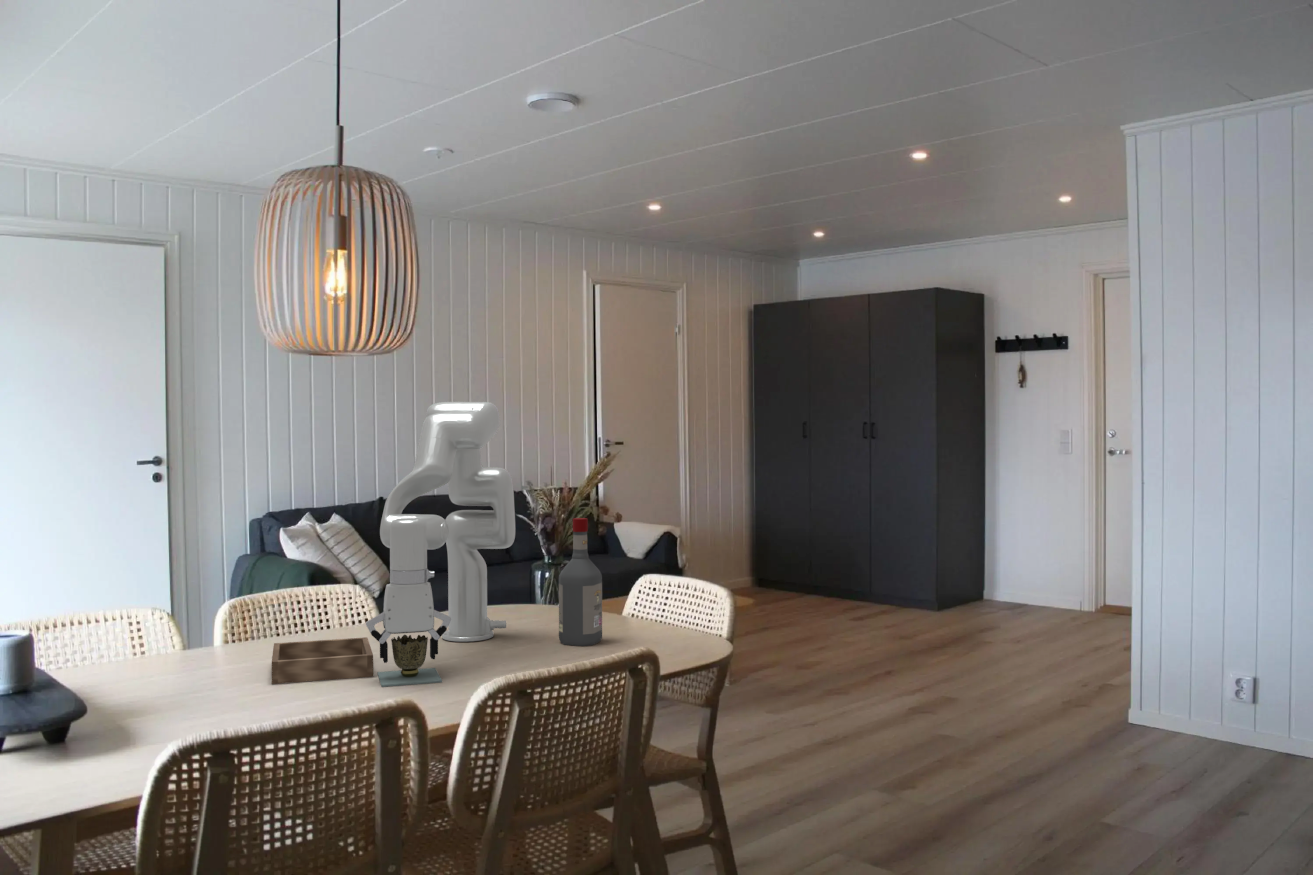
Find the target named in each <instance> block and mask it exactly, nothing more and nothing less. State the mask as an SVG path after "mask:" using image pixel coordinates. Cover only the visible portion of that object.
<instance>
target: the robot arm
mask: <svg viewBox="0 0 1313 875" xmlns="http://www.w3.org/2000/svg"><path fill="white" fill-rule="evenodd" d="M500 423H501V414H500V411H499V408H498V407H497V406H496V404H494V403H493V402H490V401H489V402H488V401H442V402H441V401H440V402H436V403H432V404H431V405H430V406H428V407H427V410H426V418H425V419H424V421H423V423H422V425H421V431H420V436H419V440H418V445H417V449H416V454H415V460H414V464H413V467H412V468H413V469H412V471H411V472H410V473H408V474H406V475H405V476H404V477H403V478H402V479H400V481H399V482H398V483H397V484H396V485H395V486H394V487H393V489H392V490H391V491H390V493H389V494H388V496H387V498H386V499H385V503H384V507H383V512H382V517H381V520H380V525H379V526H380V527H379V536H380V537H379V538H380V541H381V543H382V544H383V545H384V546H385V547H386V548H388V549H389V572H390V573H389V582H390V583H387V584H386V585H385V590H384V597H383V611H382V612H380V614H378V615H376V616H374V617H372V618H371V619H369V620H367V621H366V622H365V626H366V627H367V630H368V631H369V633H370V635H371V636H372V637H373V638H374V639H375V640H376V641H377V642H378V643H379V658H380V659H382V660H383V663H384V664H387V663H388V661H389V660H388V658H389V656H388V654H389V653H388V649H389V646H388V644H389V643H388V642H387V640H388V639H389V638H390V636H391V635H392V634H393V635H395V634H396V635H399V634H412V633H426V632H427V633H428V634H429V635H430V636H431V637H430V639H429V656H430V659H432V660H436V655H438V654H439V640H440V639H441V637H442V639H443V640H444V641H450V642H463V643H465V642H467V643H469V642H479V641H486V640H489V639H491V638H493V637H494V634H495V633H494V629H507V620H499V619H497V620H493V619H490V618H489V617H488V567H487V566H488V565H487V564H486V561H485V559H484V558H483V556H482V555H481V553H480V552H479V551H478V550H481V549H483V550H487V549H488V550H489V549H490V550H494V549H495V550H498V549H499V550H502V549H503V550H504V549H507V548H510V547H511V546H512V545H513V544H514V542H515V538H516V512H515V511H516V510H515V494H514V483H513V479H512V475H511V473H510V471H508V470H507V469H505V468H503V467H496V466H494V467H493V466H492V467H490V466H488V467H486V466H485V467H484V466H483V464H482V455H481V454H482V453H481V452H482V451H481V450H482V448H484V447H485V446H486V445H487V444H488V443H489V442H490V441H491V440H492V439H493V438H494V437H495V436H496V434H498V430H499V428H500V425H501V424H500ZM446 484H447V492H448V497H449V500H450V502H451V503H452V504H454V505H457V506H465V507H467V506H468V507H476V506H477V507H491V508H492V509H493V510H492V509H491V510H488V509H485V510H483V509H461V510H455V511H452V512H450V513H449V514H448V515H447V516H446V518H443V517H442V516H440V515H437V514H421V513H420V514H418V513H403V510H405V508H406V507H407V505H409V503H411V502H412V501H413V500H415V499H416V498H418V497H421V496H423V495H425V494H427V493H430V492H433V491H434V490H436V489H437V490H438V489H439V488H440V487H441V488H442V487H444V486H445V485H446ZM445 543H446V544H445ZM444 545H446V551H447V572H448V573H447V575H448V576H447V577H448V578H447V580H448V581H447V583H448V584H447V585H448V586H447V589H448V594H447V597H448V598H447V599H448V600H447V601H448V602H447V603H448V604H447V605H448V607H447V608H448V614H445V613H442V612H441V611H438V610H436V609H435V608H434V607H435V606H434V596H433V591H432V586H431V582H429V579H431V578H435V571H434V570H429V569H428V550H436V549H437V550H438V549H440V548H441V547H443V546H444ZM435 618H437V619H439V620H441V621H442V622H441V625H440V626H439V627H438V628H437V629H435V628H434V627H435ZM381 622H382V624H383V629H384V630H383V631H382V632H381V633H380V632H379V631H377V629H376V627H375V626H376V625H377V624H379V623H381ZM447 629H448V630H447Z"/></svg>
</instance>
